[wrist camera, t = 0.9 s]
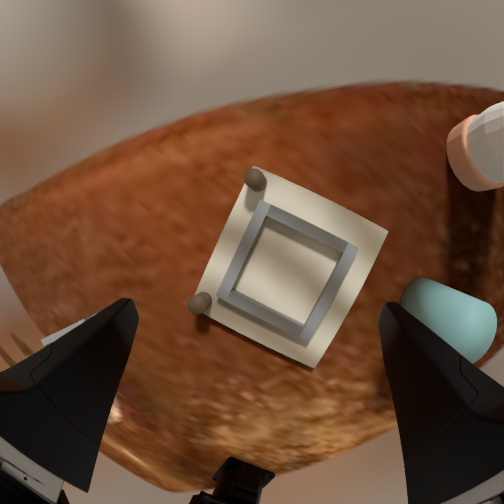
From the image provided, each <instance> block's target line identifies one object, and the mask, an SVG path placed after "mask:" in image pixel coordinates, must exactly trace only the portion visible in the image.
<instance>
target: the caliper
mask: <svg viewBox="0 0 504 504" xmlns="http://www.w3.org/2000/svg"><path fill="white" fill-rule="evenodd" d="M96 314H97V313H96ZM94 315H95V314H94ZM94 315H92V316H94ZM92 316H89V317H87V318H85V319H83V320H80V321H78V322H77V323H75V324H73V325H71V326H69V327H67V328H65V329H63V330H60V331H58V332H56V333H54V334H52V335H50V336H48V337H46V338H44V339H42V340H41V341H42V343H43V346H45V345H47V344H49V343H52V342H54V341H55V340H57V339H58V338H60V337H61V336H63V335H64V334H66V333H67V332H69V331H70V330H72V329H74V328H75V327H77V326H78V325H80V324H81V323H83V322H84V321H86V320H88V319H89V318H91V317H92Z"/></svg>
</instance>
